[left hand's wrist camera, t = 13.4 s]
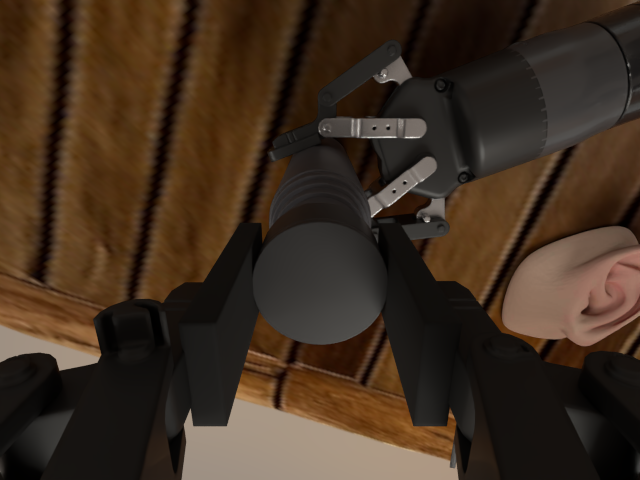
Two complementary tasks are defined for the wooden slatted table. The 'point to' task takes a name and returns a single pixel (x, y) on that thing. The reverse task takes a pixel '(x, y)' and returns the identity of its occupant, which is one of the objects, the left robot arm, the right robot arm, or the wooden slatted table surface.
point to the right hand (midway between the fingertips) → (286, 192)
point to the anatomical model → (576, 287)
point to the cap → (320, 274)
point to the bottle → (320, 182)
